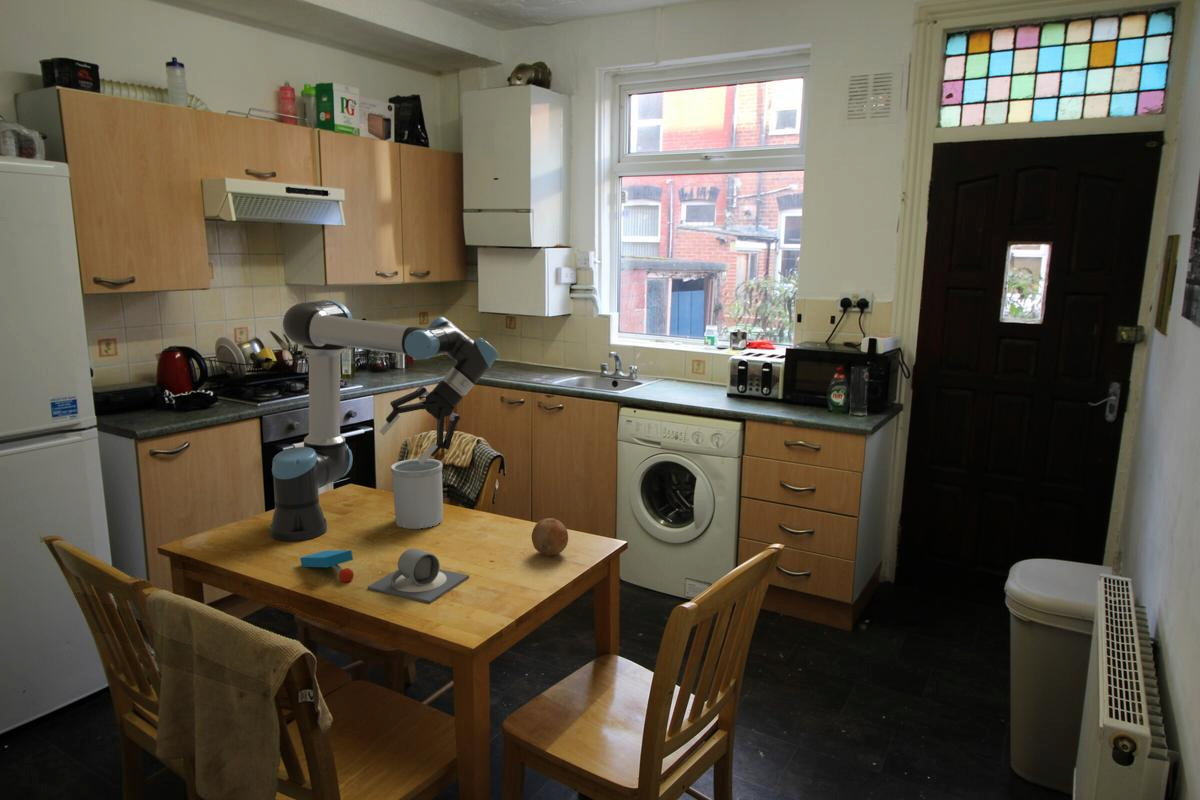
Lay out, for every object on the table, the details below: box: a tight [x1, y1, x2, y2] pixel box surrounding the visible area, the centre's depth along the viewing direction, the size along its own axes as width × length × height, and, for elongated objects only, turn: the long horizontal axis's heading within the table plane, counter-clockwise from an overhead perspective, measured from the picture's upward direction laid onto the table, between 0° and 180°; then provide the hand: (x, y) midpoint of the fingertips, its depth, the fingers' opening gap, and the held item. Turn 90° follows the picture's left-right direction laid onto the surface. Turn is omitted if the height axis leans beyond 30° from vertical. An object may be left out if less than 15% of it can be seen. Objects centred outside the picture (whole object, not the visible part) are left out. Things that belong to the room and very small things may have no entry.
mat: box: [367, 568, 470, 604], centre depth 190 cm, size 18×16×1 cm
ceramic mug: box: [391, 548, 441, 588], centre depth 188 cm, size 11×8×8 cm
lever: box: [299, 549, 355, 583], centre depth 196 cm, size 7×7×18 cm
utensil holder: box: [390, 458, 444, 530], centre depth 231 cm, size 15×15×18 cm
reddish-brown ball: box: [531, 517, 569, 557], centre depth 208 cm, size 10×10×10 cm
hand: (400, 448), depth 210 cm, fingers open, 13 cm apart
